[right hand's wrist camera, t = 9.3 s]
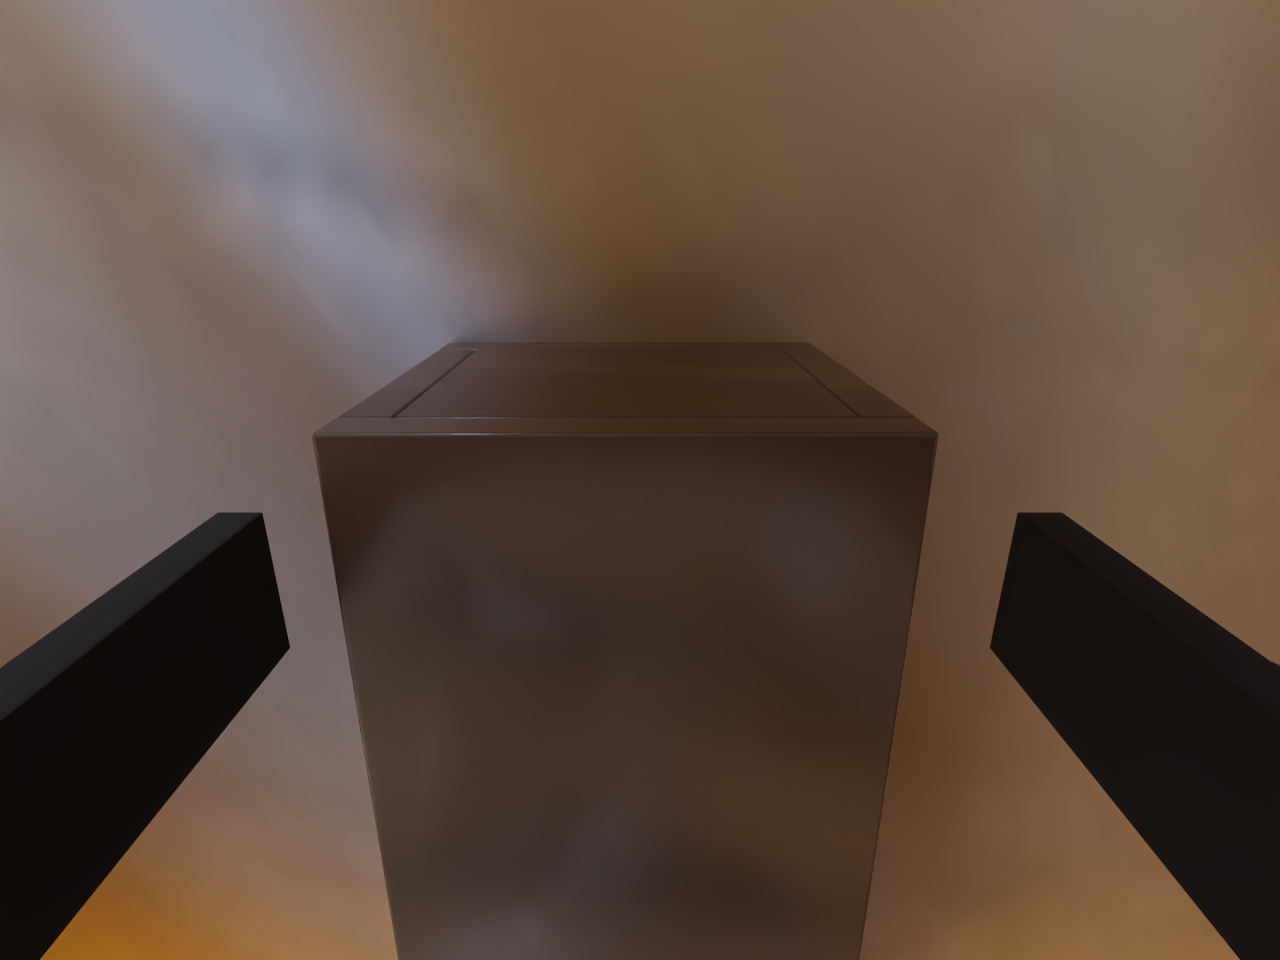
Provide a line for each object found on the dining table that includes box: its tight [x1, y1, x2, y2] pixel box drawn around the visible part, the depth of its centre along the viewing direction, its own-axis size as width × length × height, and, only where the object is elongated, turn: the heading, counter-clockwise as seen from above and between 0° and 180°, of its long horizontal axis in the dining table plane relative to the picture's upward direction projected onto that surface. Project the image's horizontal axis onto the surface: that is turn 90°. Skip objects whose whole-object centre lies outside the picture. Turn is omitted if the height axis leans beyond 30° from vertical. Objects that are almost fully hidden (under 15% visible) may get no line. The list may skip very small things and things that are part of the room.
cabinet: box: [313, 343, 938, 960], centre depth 19 cm, size 20×10×9 cm, turn 0°
